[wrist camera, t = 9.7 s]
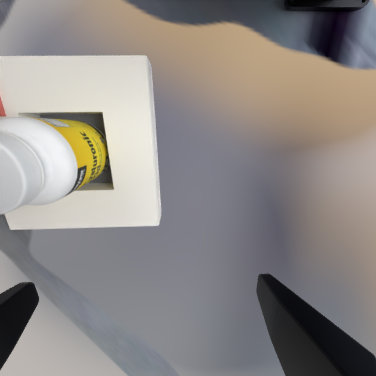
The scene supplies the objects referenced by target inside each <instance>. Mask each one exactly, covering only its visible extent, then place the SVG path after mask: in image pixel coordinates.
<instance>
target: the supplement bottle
mask: <svg viewBox="0 0 376 376" xmlns="http://www.w3.org/2000/svg"><path fill="white" fill-rule="evenodd" d="M109 163H110V159H109V153H108V146H107V139H106V137H105V135H104V134H103V133H102V132H101V131H100V130H99V129H98V128H96V127H95V126H93V125H91V124H89V123H86V122H82V121H76V120H62V119H47V118H32V117H8V118H3V119H0V215H1V214H5V213H8V212H11V211H13V210H15V209H17V208H19V207H21V206H24V205H46V204H50V203H53V202H55V201H57V200H59V199H62V198H63V197H65V196H67V195H68V194H70V193H72V192H73V191H75V190H77V189H78V188H80V187H82V186H83V185H85V184H87V183H88V182H90V181H92V180H93V179H95V178H97V177H98V176H100V175H101V174H102V173H103V172H104V171H105V170H106V169H107V168H108V166H109Z"/></svg>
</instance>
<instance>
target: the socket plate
mask: <svg viewBox="0 0 376 376" xmlns="http://www.w3.org/2000/svg"><path fill="white" fill-rule="evenodd" d="M8 117H32V118H47V119H62V120H76V121H82V122H86V123H89V124H91V125H93V126H95V127H96V128H98V129H99V130H100V131H101V132H102V133H103V134H104V135H105V137H106V139H107V146H108V153H109V159H110V163H109V166H108V168H107V169H106V170H105V171H104V172H103V173H102V174H101V175H100V176H98V177H97V178H95V179H93V180H92V181H90V182H88V183H87V184H85V185H83V186H82V187H80V188H78V189H77V190H75V191H73V192H72V193H70V194H68V195H67V196H65V197H63V198H62V199H59V200H57V201H55V202H53V203H50V204H46V205H24V206H21V207H19V208H17V209H15V210H13V211H11V212H8V213H5V217H6V219H7V222H8V225H9V228H10V230H24V229H57V228H58V229H59V228H94V227H130V226H158V225H159V222H160V218H161V201H160V186H159V171H158V155H157V140H156V125H155V109H154V94H153V79H152V66H151V64H150V62H149V60H148V58H147V56H146V55H142V56H141V55H138V56H137V55H135V56H134V55H133V56H0V119H3V118H8Z"/></svg>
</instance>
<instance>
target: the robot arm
mask: <svg viewBox="0 0 376 376" xmlns="http://www.w3.org/2000/svg"><path fill="white" fill-rule="evenodd" d="M368 2H369V0H362V3H361V2H360V0H294V3H292V2H291V1H290V0H285V1H284V5H285V8H286V9H288V10H359V9H361V8H363V7H364V6H365V5H367V3H368ZM257 296H258V300H259V303H260V306H261V310H262V313H263V316H264V319H265V322H266V326H267V329H268V332H269V335H270V338H271V341H272V344H273V346H274V348H275V351H276V354H277V356H278V358H279V361H280V363H281V366H282V368H283V371H284V373H285V375H286V376H376V358H375V356H374V355H373V354H372V353H371V352H369V351H368V350H367V349H366V348H364V347H363V346H362V345H361V344H359V343H358V342H357V341H356V340H354V339H353V338H352V337H350V336H349V335H348V334H346V333H345V332H344V331H343V330H341V329H340V328H339V327H337V326H336V325H335V324H334V323H332V322H331V321H330V320H328V319H327V318H326V317H325V316H323V315H322V314H321V313H319V312H318V311H317V310H316V309H314V308H313V307H312V306H310V305H309V304H308V303H307V302H305V301H304V300H303V299H301V298H300V297H299V296H298V295H296V294H295V293H294V292H292V291H291V290H290V289H289V288H287V287H286V286H285V285H283V284H282V283H281V282H280V281H278V280H277V279H276V278H274V277H273V276H272V275H270V274H259V276H258V282H257ZM38 302H39V296H38V293H37V290H36V287H35V285H34V283H32V282H22V283H19V284H17V285H15V286H14V287H12V288H10V289H9V290H6V291H5V292H3V293H1V294H0V370H1V368H2V367H3V365H4V363H5V362H6V360H7V359H8V357H9V355H10V354H11V352H12V350H13V349H14V347H15V345H16V344H17V342H18V340H19V338H20V336H21V334H22V333H23V331H24V329H25V327H26V325H27V323H28V321H29V319H30V318H31V316H32V314H33V312H34V310H35V308H36V307H37V305H38Z"/></svg>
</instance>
